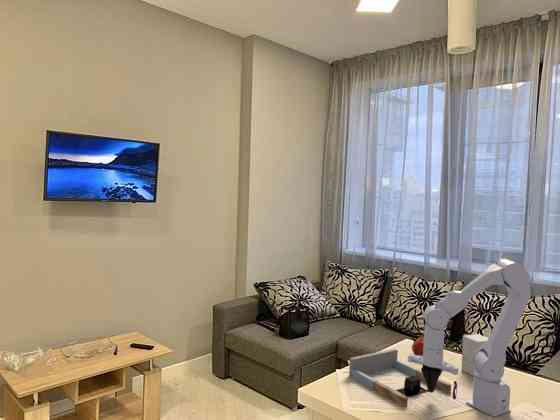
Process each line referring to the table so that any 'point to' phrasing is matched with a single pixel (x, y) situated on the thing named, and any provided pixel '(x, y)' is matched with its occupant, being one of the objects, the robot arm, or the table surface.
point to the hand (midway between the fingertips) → (431, 391)
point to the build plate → (412, 387)
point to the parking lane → (385, 361)
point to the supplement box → (471, 351)
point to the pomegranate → (418, 346)
